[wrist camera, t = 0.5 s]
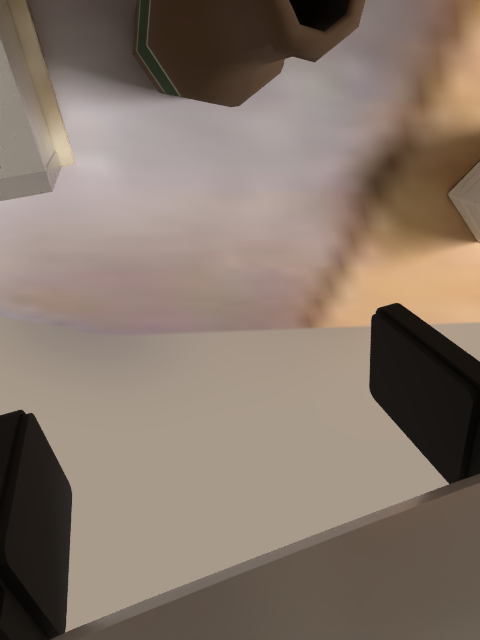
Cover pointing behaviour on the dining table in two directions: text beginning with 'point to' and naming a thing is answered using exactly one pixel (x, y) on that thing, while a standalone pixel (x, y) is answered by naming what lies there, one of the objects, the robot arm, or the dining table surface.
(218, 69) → the beer bottle
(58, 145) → the housing base
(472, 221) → the supplement box
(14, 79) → the cover
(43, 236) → the dining table surface
